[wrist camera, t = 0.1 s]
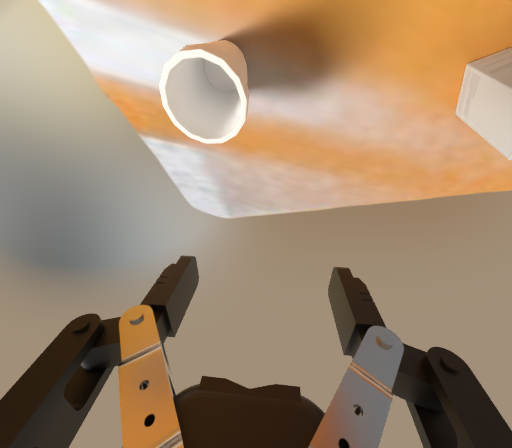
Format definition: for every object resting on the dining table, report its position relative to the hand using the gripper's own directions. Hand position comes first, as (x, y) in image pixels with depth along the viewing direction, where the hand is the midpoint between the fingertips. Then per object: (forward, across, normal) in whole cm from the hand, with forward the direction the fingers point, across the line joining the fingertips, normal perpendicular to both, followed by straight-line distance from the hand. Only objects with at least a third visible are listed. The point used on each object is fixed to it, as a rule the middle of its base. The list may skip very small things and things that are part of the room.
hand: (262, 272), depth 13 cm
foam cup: (+29, +8, -13) cm, 33 cm away
